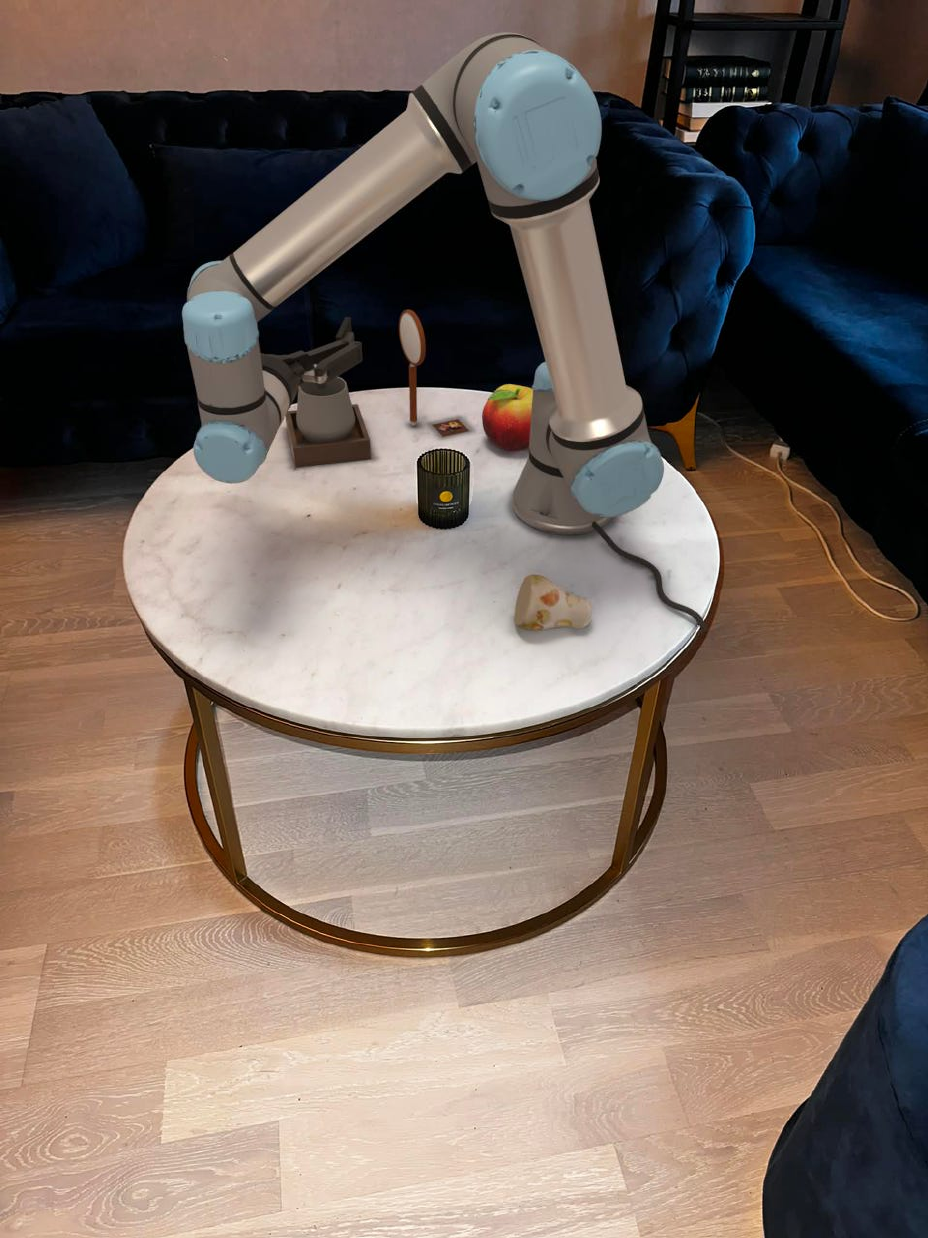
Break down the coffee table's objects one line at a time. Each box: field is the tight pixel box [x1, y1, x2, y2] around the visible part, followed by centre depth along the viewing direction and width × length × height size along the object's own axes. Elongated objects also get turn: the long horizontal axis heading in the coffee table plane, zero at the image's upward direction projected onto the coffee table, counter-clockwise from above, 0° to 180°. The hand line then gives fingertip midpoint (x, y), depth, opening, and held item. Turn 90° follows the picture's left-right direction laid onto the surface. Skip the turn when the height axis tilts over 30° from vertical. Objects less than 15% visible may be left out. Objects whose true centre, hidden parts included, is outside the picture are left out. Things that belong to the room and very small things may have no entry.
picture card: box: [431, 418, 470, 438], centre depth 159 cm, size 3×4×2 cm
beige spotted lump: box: [514, 574, 594, 631], centre depth 120 cm, size 8×10×10 cm
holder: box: [285, 403, 372, 468], centre depth 154 cm, size 12×12×4 cm
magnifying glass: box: [398, 309, 427, 427], centre depth 153 cm, size 9×2×20 cm, turn 27°
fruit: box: [481, 383, 533, 452], centre depth 153 cm, size 11×11×10 cm
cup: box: [296, 376, 355, 444], centre depth 151 cm, size 10×9×10 cm
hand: (300, 323), depth 131 cm, fingers open, 13 cm apart
